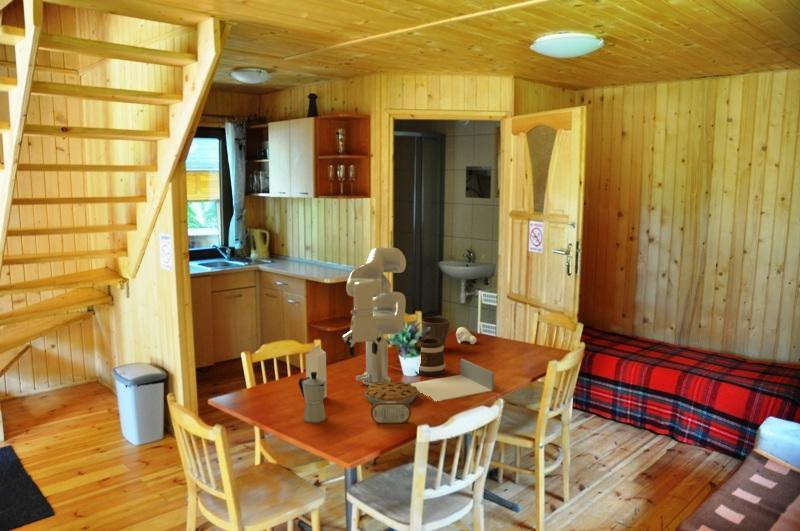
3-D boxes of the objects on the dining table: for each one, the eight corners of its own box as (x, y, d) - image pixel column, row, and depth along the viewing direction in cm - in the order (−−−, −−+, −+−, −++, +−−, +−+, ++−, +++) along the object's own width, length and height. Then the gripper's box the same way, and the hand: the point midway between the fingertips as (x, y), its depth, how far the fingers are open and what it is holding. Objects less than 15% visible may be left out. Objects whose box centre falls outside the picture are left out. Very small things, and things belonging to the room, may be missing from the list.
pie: (401, 412, 238) (401, 400, 237) (354, 402, 249) (354, 390, 248) (427, 395, 257) (427, 384, 256) (382, 387, 268) (382, 376, 267)
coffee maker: (334, 419, 230) (334, 373, 228) (316, 426, 224) (315, 378, 221) (308, 409, 240) (308, 365, 238) (291, 416, 233) (289, 370, 231)
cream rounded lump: (460, 325, 346) (479, 330, 340) (459, 339, 348) (478, 344, 341) (455, 327, 341) (474, 332, 335) (453, 342, 343) (472, 347, 336)
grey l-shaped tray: (435, 403, 249) (435, 382, 248) (407, 386, 270) (407, 367, 269) (493, 392, 263) (493, 372, 261) (462, 376, 284) (462, 358, 282)
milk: (306, 399, 252) (305, 346, 249) (314, 394, 258) (313, 343, 255) (318, 401, 249) (317, 348, 247) (327, 396, 255) (325, 345, 252)
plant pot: (450, 353, 322) (451, 323, 320) (422, 353, 321) (422, 323, 319) (448, 345, 336) (448, 317, 334) (421, 345, 336) (421, 317, 334)
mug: (452, 373, 287) (452, 341, 285) (427, 379, 278) (428, 347, 276) (424, 363, 303) (425, 333, 301) (400, 368, 294) (400, 338, 292)
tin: (411, 421, 229) (411, 399, 228) (411, 424, 226) (411, 402, 225) (370, 421, 229) (370, 399, 227) (370, 424, 225) (370, 402, 224)
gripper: (346, 315, 235) (346, 359, 237) (387, 312, 243) (386, 354, 245) (339, 312, 242) (339, 355, 244) (379, 309, 250) (379, 350, 251)
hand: (363, 354), depth 244 cm, fingers open, 9 cm apart
